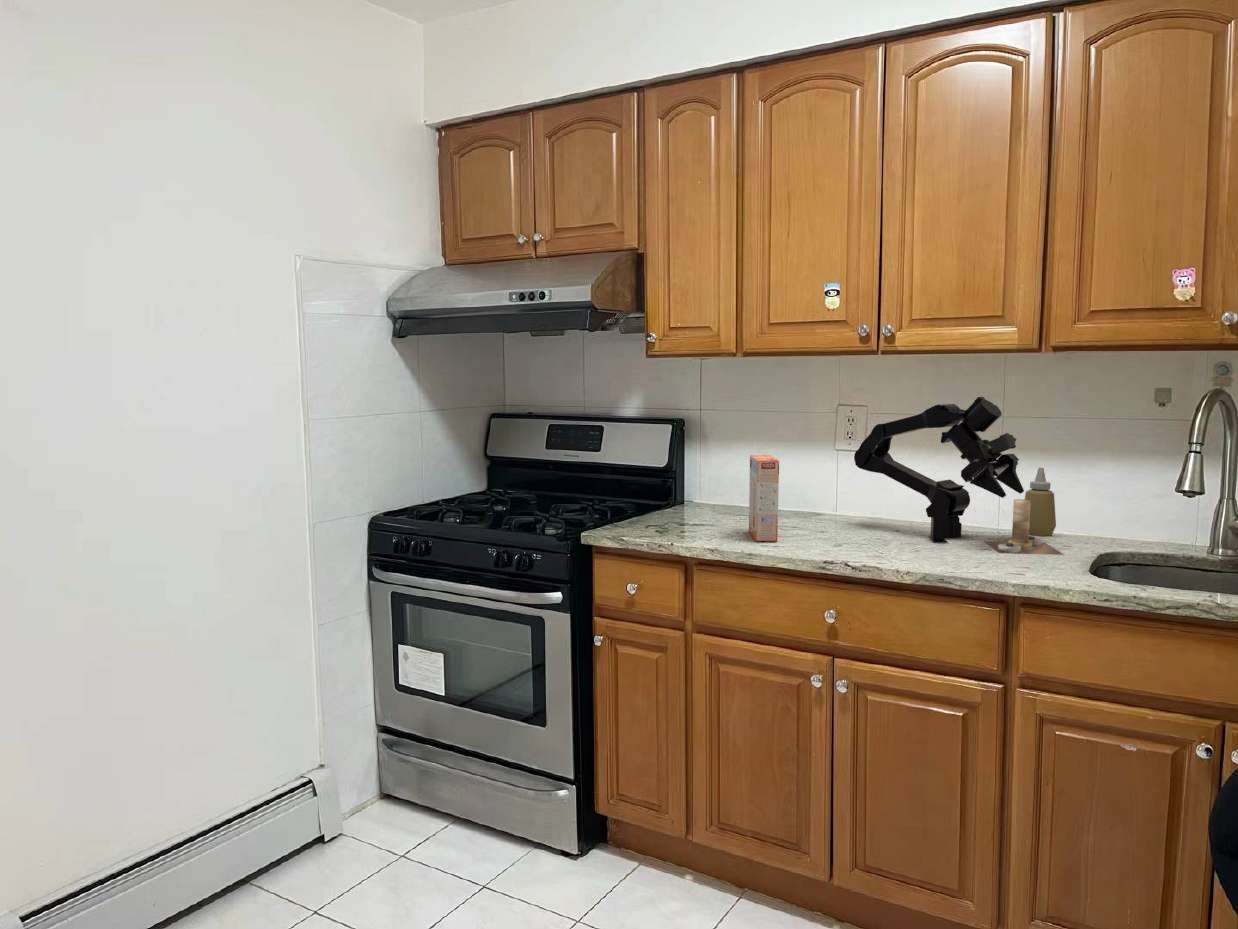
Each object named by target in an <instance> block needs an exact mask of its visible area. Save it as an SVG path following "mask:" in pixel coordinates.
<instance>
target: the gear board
mask: <svg viewBox="0 0 1238 929" xmlns="http://www.w3.org/2000/svg"><path fill="white" fill-rule="evenodd" d="M1029 541H1031V542H1032V548H1031V549H1021V546H1019V545H1014V544H1013V543H1008V541H992V540H991V541H989V540H988V541H987V540H986V541H984V540H983V542H984V543H985V544H987V545H988V546H989V547H990V548H992V549H993V550H995V551H996V552H997V553H998V554H1010V555H1011V554H1013V555H1014V554H1016V555H1017V554H1018V555H1019V554H1020V555H1021V554H1022V555H1053V556H1054V555H1062V556H1064V555H1065V554H1064V553H1063V552H1061V551H1060V550H1058V549H1056V548H1054V547H1052V546H1051V545H1050V544H1048V543H1046V542H1043V539H1041V538H1038V537H1036V536H1033V535H1029Z"/></svg>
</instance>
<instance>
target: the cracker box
mask: <svg viewBox="0 0 1238 929" xmlns="http://www.w3.org/2000/svg"><path fill="white" fill-rule="evenodd" d="M779 480H780V460H779V459H777V458H775V457H774V456H773V455H771V454H750V456H749V492H748V493H749V494H748V495H749V496H748V497H749V498H748V500H749V501H748V533H749V534H750V535H751V537H752V538H753V540H754V541H755V542H757V541H765V542H766V543H767V542H772V543H773V542H774V543H775V542H778V532H779V531H778V528H779V527H778V525H779V492H780V491H779V488H780V487H779V484H780V481H779ZM765 542H764V543H765Z"/></svg>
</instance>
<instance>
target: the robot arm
mask: <svg viewBox="0 0 1238 929" xmlns="http://www.w3.org/2000/svg"><path fill="white" fill-rule="evenodd" d="M1001 416H1002V411H1001V409H1000V408H999V407H998V406H997V405H996V404H994V403H993V402H991V401H990V400H987V399H986V398H985V397H984V396H977V398H976V399H974V401H973V403H971V405H970V406H968V408H967V409H961V408H960V407H959V406H958V405H957V404H956V403H944V404H935V405H933V406H931V407H929V408H927V409H925V410H924V411H923V412H921V413H919V414H915V415H912V416H908V417H905V418H904V417H903V418H900V419H895V420H893V421H892V420H891V421H888V422H885V423H878V424H876V425H875V426H874V427H873V428H872V430H871V432H870V433H869V435H868V436H866V438H865V439H864V440H863V441H862V442H861V444H860V446H859V448H858V449H856V451H855V453H854V455H853V456H854V457H853V458H854V463H855V464H854V465H855V466H856V467H857V468H858V469H861V470H862V471H867V472H870V473H878V474H882V475H884V476H886V477H888V478H889V479H892V480H894V481H895V482H896V483H897V482H898V483H899V484H902V485H904V486H905V487H907V488H909V489H912V490H913V491H915V492H917V493H919V494H920V495H923V496H924V497H926V498H927V500H928V501H929V502H930V504H929V505H928V506H927V507H926V508H925V512H926V515H927V517H928V518H930V535H928V538H929V540H931V542H932V543H944V544H945V543H946V544H947V543H949V541H947V539H961V538H962V525H963V524H962V522H960V519H961V518H960V517H962V516H964V513H965V512H966V509H967V508H968V507H969V505H970V502H971V497H970V494H969V493H970V492H969V491H968V490H967V489H965V488H964V487H965V485H961V484H958V483H956V482H955V481H954V480H952V479H945V480H943V479H942V480H938V481H936V480H934V479H932V478H930V477H928V476H925V475H924V474H922V473H920V472H918V471H915V470H914V469H912V468H909V467H908V466H906V465H904V464H902V463H900V462H898V461H896V460H894V458H893V457H892V456H891V454H890V452H889V451H890V449H891V445H892V444H891V442H892V438H893V437H895V436H900V435H903V434H908V433H913V432H916V431H921V430H924V429H937V428H938V429H939V428H940V429H941V428H949V429H948V430H947V431H942V432H941V437H940V443H941V444H945V443H950V442H951V443H952V444H953V446H955V448H956V449H957V450H958V451H959V452H960V453H961V455H960V458H961V459H962V460H966V461H968V464H967V465H966V466H965V467H964V468H962V470H960V478H962V480H963V481H964V482H965V483H969V484H970V485H974V486H976V487H978V488H981V489H983V490H985V491H988V492H990V493H992V494H993V495H996V496H998V497H1000V498H1003V499H1004V498H1005V497H1006V496H1007V493H1006V492H1005V490H1004V489H1003V487H1002V486H1001V484H1000V483H1002V484H1004V485H1005V486H1007V487H1009V488H1010V489H1011V490H1014V492H1016V493H1018V494H1020V495H1021V494H1022V493H1024V492H1025V490H1024V488H1023V484H1022V483H1021V480H1020V479H1019V477H1018V473H1017V466H1018V464H1019V461H1020V459H1019V458H1018V457H1017V455H1016V454H1014V453H1004V454H1003V453H1002V452H1005V451H1008V450H1012V449H1013V450H1014V449H1015V448H1017V445H1016V441H1017V438H1016V437H1014V435H1013V434H1010V433H1009V432H1006V433H1004V434H1000V435H999V437H996V438H994V439H992V440H989V439H982V438H981V436H980V435H979V434H978V433H979V432H980V433H985V432H986V431H987V430H988V429H989V428H990V427H991V426H992V425H993V424H994V423H995V422H997V420H998V419H1000V417H1001ZM950 427H951V428H950ZM999 482H1000V483H999Z"/></svg>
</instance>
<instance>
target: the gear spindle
mask: <svg viewBox="0 0 1238 929" xmlns="http://www.w3.org/2000/svg"><path fill="white" fill-rule="evenodd" d="M1030 503H1031V501H1030V500H1025V498H1024V499H1021V498H1019V499H1018V498H1017V499H1013V511H1012V526H1011V527H1012V529H1011V530H1012V531H1011V532H1012V533H1011V539H1009V540H1007V542H1008V543H1013V544H1014V545H1019V546H1021V549H1031V548H1032V542H1031V541H1029V536H1030V535H1029V524H1030Z"/></svg>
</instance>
